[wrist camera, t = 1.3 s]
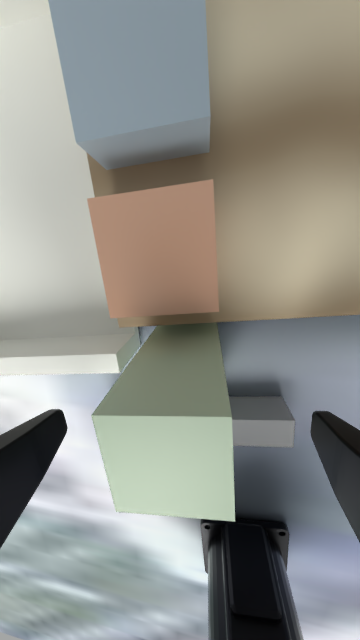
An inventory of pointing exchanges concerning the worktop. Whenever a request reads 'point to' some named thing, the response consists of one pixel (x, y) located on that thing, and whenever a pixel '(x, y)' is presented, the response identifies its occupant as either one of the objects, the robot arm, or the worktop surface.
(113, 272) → the tile
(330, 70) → the board
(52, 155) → the tray
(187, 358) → the green grey branched block
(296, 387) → the worktop surface
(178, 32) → the tile
